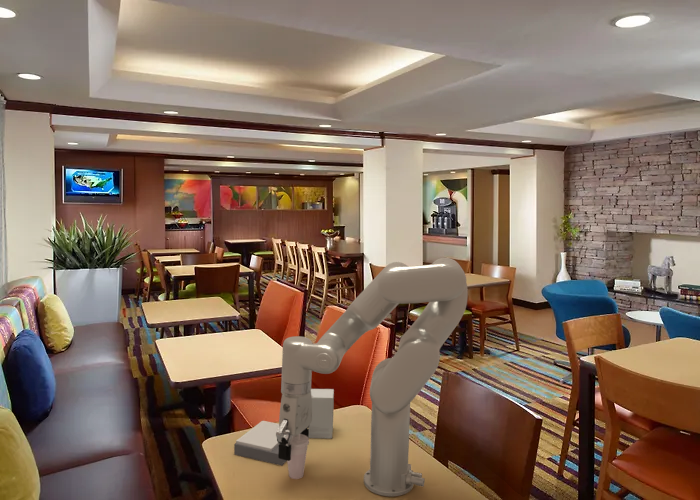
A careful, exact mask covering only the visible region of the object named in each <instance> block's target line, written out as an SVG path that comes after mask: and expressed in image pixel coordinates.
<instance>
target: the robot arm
mask: <svg viewBox="0 0 700 500" xmlns="http://www.w3.org/2000/svg"><path fill="white" fill-rule="evenodd" d="M468 291H469V290H468V284H467V274H466V272H465V271H464V269H463V268H462V266H461V265H460V264H459V262H458V261H456V260H455V259H453V258H450V257H440V258H437V259H436V260H434V261H433V262H432V263H431V264H423V265H407V264H406V263H403V262H399V261H394V262H391V263H389V264H387V265H386V266H384V268H382V270H381V271H380V272H379V273H378V274H377V275H376V276H375V277H374V279H373V280H372V281H371V282H370V283H369V284H368V285H367V286H366V287H365V288H364V289H363V290H362V291H361V292H360V293H359V295H358V296H356V298H355V299H354V300H353V301H352V303H350V304H349V306H348V307H347V309H346V310H345V311H344V312H343V313H342V314H341V315H340V316H339V318H338V319H337V320H336V321H335V322H334V323H333V324H331V326H330V327H329V329H328V330H326V331H325V332H324V334H323V335H322V336H321V337H320V338H319V340H318V341H317V342H315V343H313V342H312V340H311V339H310V338H309V337H305V336H301V335H300V336H299V335H298V336H289V337H287V338H285V339H284V340H283V344H282V355H281V356H282V357H281V381H280V382H281V387H280V388H281V389H280V393H281V399H280V408H279V418H278V424H279V428H278V430H277V432H276V437H277V442H278V444H279V452H278V458H279V459H283V460H287V461H290V460H291V445H290V442H291V439H292V436H298V435H299V434H303V435H306V436H307V437H308V436H309V429H308V428H309V426H310V424H311V422H312V395H311V389H312V375H313V374H312V373H313V372H316V373H319V374H324V375H329V374H332V373H333V372H336V371H337V370H338V368H339V366H340V364H341V362H342V360H343V357H344V355H345V354H346V353H347V352H348V351H349V350H350V348H351V347H352V346H353V345H354V344H355V343H356V342H357V341H358V340H359V339H360V338H361V337H362V336H364V335H365V334H366V333H367V332H370V331H372V330H374V329H376V328H378V326H379V325H380V324H381V323H382V322H383V321H384V320H385V319H386V318H387V317H388V316H389V315H390V314H391V312H393V310H394V309H395V308H396V307H397V306H398V305H399V304H402V305H403V304H420V303H428V304H427V305H426V306H425V307H424V309H423V310H422V312H421V313H420V315H419V316H418V317H417V319H415V321H414V322H413V323H412V325H410V327H409V328H408V329H407V330H406V332H404V333H403V334H402V336H401V337H400V340H399V343H398V349H397V351H396V352H395V353H394V355H393V356H392V357H390V358H389V357H388V358H385V359H383V360H381V361H380V362H379V363H378V364H377V365H376V366H375V368H374V369H373V373H372V375H371V381H370V387H369V397H370V401H371V419H370V420H371V422H370V424H371V425H370V458H369V460H370V461H369V469H368V470H367V471H366V472H365V473H364V474H363V485H364V486H365V488H367V490H369V491H370V492H372V493H373V494H376V495H379V496H381V497H382V496H383V497H399V496H404V495H405V494H407V493H409V492H411V491H412V489H413V487H414V485H415V486H419V487H422V488H423V487H424V486H425V479H426V478H424V477H423V474H422V473H421V472H415V471H413V470H412V464H410V463H409V446H410V444H409V443H410V423H411V421H410V420H411V419H410V418H411V402H412V401H413V400H414V399H415V398H416V397H417V395H418V394H419V393H420V392H421V390H422V389H423V388H424V387H425V386H426V385H427V383H428V382H429V380H430V379H431V378H432V376H433V375H434V374H435V372H436V371H437V369H438V366H439V365H440V359H441V357H440V356H441V355H440V354H441V352H440V351H441V348H442V347H443V345H444V343H446V341H447V340H448V338H449V337H450V336H451V334H452V333H453V332H454V330H455V328H456V327H457V326H458V325H459V323H460V321H461V320H462V318H463V316H464V314H465V312H466V308H467V305H468ZM286 430H289V431H290V432H286ZM284 435H288V439H287V440H286V439H285V438H284Z"/></svg>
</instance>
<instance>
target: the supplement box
mask: <svg viewBox="0 0 700 500" xmlns="http://www.w3.org/2000/svg"><path fill="white" fill-rule="evenodd" d="M334 392H335V390H334V388H311V395H312V422H311V424H310V426H309V428H308V429H309V436H308V438H309V439H333V431H334V430H333V428H334V408H335V407H334V406H335V405H334V402H335V401H334V399H335V397H334V396H335V393H334Z"/></svg>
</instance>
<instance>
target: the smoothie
mask: <svg viewBox="0 0 700 500" xmlns="http://www.w3.org/2000/svg"><path fill="white" fill-rule="evenodd" d="M285 439H286V440H287V439H288V436H287V437H285ZM309 444H310V438H308V437H307V436H306V435H303V434H299V435H298V436H292V439H291V442H290V445H291V460H290V461H287V462H286V463H287V468H288V469H287V471H288V477H289V478H290V479H293V480H298V479H302V478H303V477H304V471H305V467H306V466H305V465H306V458H307V451H308V445H309Z"/></svg>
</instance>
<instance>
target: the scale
mask: <svg viewBox="0 0 700 500" xmlns="http://www.w3.org/2000/svg"><path fill="white" fill-rule="evenodd" d="M278 428H279V423H276V422H272V421H266V420H261V421H259V423H257V424H256V425H255V426H254V427H252V428H250V429H249V430H248V431H247V432H246V433H244V434H243V435H242V436H240V437H239V438H237V439H236V440H235V443H234V444H233V445H234V446H233V449H234V450H233V451H234V454H233V455H235V456H239V457H244V458H248V459H252V460H256V461H261V462H265V463H268V464H272V465H277V466H282V467H283V465H284V464H286V463H287V460H283V459H279V458H278V452H279V444H278V442H277V437H276V432H277V430H278ZM286 432H290V431H289V430H286ZM287 436H288V435H284V438H285V437H287Z"/></svg>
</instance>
